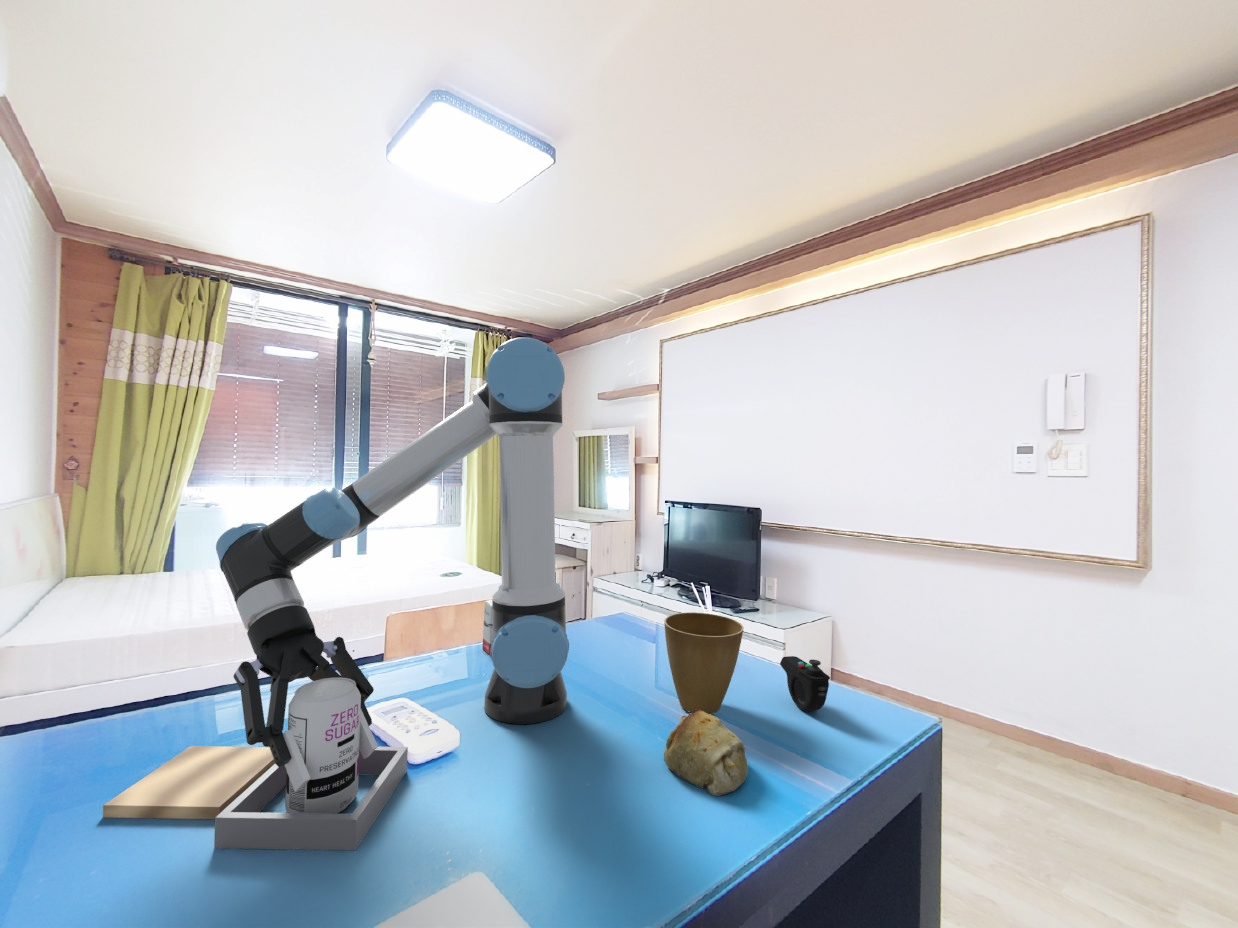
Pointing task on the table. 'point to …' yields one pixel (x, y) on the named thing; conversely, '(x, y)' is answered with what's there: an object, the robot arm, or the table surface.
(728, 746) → the pastry
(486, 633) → the ink box
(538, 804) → the table surface
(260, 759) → the pad
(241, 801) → the bin
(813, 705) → the controller
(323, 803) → the supplement can
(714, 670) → the plant pot
